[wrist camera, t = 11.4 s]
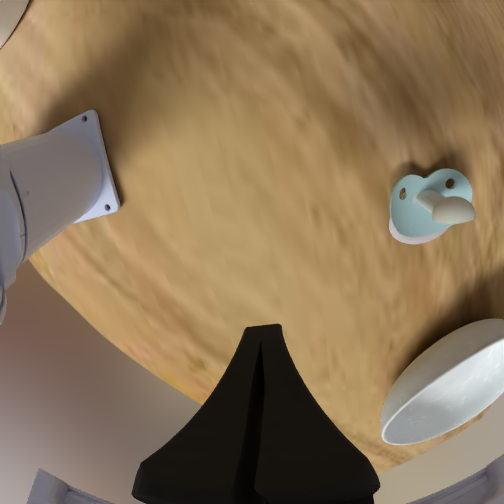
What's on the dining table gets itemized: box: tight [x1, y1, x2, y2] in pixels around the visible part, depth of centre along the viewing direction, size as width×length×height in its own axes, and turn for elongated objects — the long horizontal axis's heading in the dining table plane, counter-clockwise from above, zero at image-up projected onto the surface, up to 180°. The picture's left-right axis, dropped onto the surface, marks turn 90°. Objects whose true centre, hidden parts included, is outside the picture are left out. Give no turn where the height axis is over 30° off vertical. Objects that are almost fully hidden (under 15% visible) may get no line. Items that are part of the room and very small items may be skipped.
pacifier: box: [389, 168, 476, 244], centre depth 15 cm, size 7×6×6 cm
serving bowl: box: [381, 319, 504, 445], centre depth 24 cm, size 21×21×7 cm
